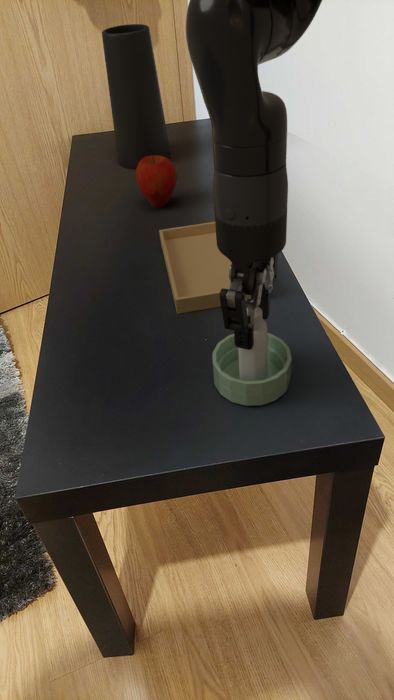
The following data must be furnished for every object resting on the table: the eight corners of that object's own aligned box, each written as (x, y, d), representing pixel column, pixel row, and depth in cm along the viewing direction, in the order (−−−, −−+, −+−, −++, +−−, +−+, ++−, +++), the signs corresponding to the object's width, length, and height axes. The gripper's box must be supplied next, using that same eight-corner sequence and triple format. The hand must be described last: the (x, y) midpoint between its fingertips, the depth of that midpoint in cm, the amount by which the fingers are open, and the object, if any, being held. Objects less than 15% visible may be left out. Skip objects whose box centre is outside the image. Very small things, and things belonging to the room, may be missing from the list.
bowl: (298, 363, 71) (300, 339, 68) (277, 416, 64) (278, 391, 61) (229, 348, 75) (228, 324, 72) (203, 396, 68) (200, 372, 65)
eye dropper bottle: (227, 377, 69) (222, 305, 61) (255, 356, 71) (254, 285, 63) (251, 393, 66) (249, 320, 58) (279, 370, 69) (281, 298, 61)
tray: (269, 298, 83) (269, 284, 81) (177, 314, 82) (175, 300, 80) (237, 231, 100) (236, 218, 98) (160, 242, 99) (158, 230, 97)
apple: (181, 196, 114) (176, 147, 106) (177, 214, 107) (171, 163, 100) (144, 197, 115) (136, 149, 108) (137, 215, 108) (129, 165, 101)
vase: (127, 148, 138) (106, 24, 119) (176, 148, 135) (162, 20, 116) (111, 169, 128) (85, 37, 109) (163, 169, 126) (146, 34, 106)
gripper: (263, 245, 46) (263, 376, 58) (304, 180, 56) (297, 303, 67) (189, 234, 49) (202, 362, 60) (240, 174, 59) (243, 294, 70)
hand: (252, 330), depth 64 cm, fingers closed on eye dropper bottle, 5 cm apart
